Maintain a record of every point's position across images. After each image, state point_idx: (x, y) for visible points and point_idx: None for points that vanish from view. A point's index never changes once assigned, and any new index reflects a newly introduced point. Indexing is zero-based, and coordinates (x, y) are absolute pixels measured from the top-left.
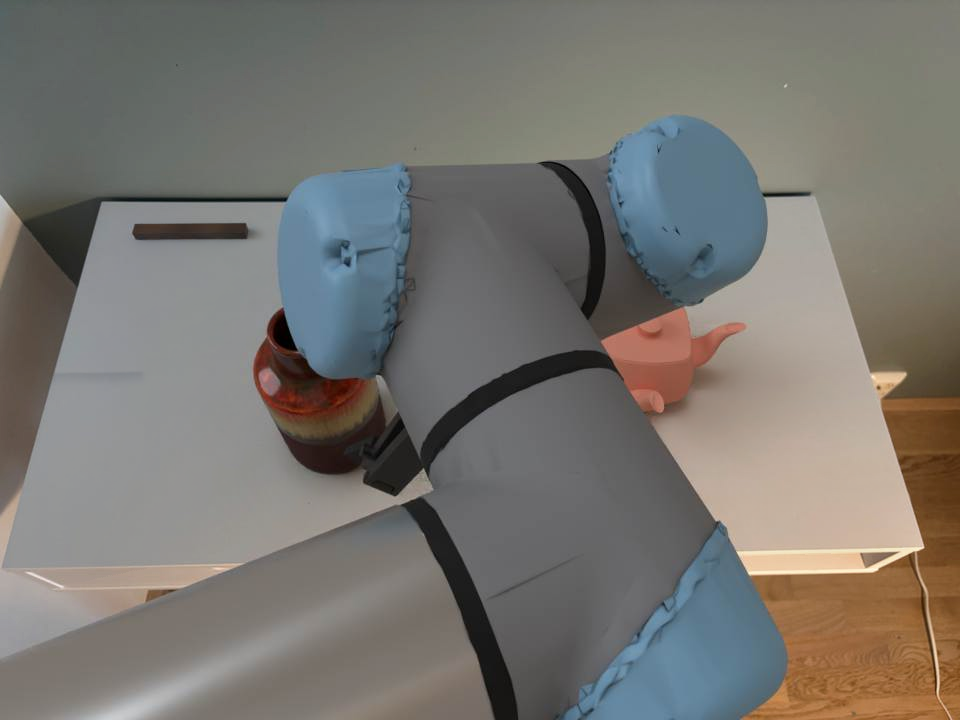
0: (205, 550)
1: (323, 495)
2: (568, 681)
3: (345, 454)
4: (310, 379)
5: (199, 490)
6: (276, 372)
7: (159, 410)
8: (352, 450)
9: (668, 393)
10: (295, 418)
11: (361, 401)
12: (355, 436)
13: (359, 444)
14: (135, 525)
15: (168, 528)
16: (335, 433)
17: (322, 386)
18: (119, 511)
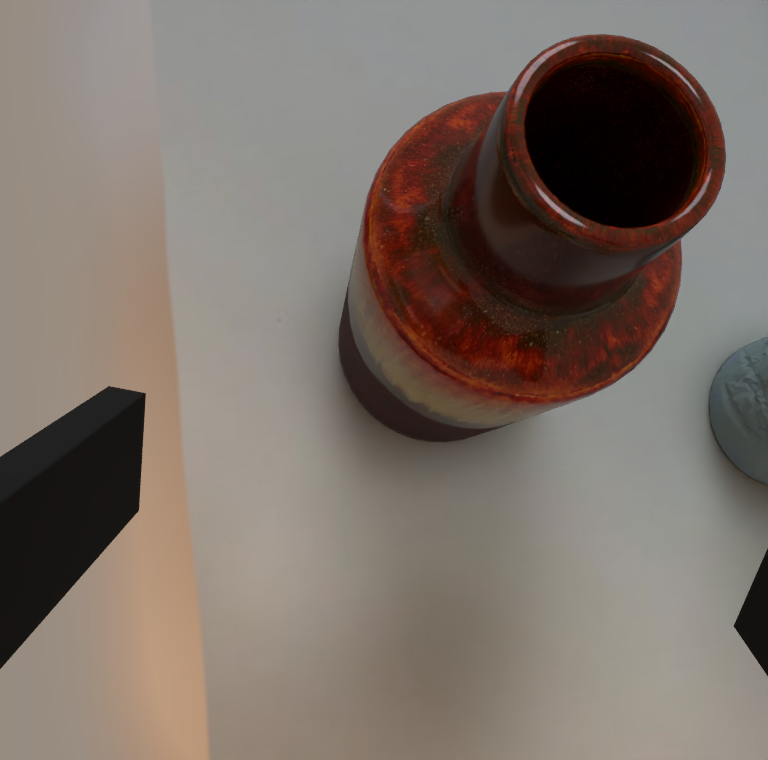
0: (173, 156)
1: (296, 344)
2: None
3: (97, 397)
4: (459, 236)
5: (286, 123)
6: (474, 142)
7: (431, 27)
8: (51, 431)
9: None
10: (360, 229)
11: (444, 396)
12: (384, 390)
13: (19, 470)
14: (212, 34)
15: (210, 87)
16: (366, 343)
17: (449, 278)
18: (236, 4)
